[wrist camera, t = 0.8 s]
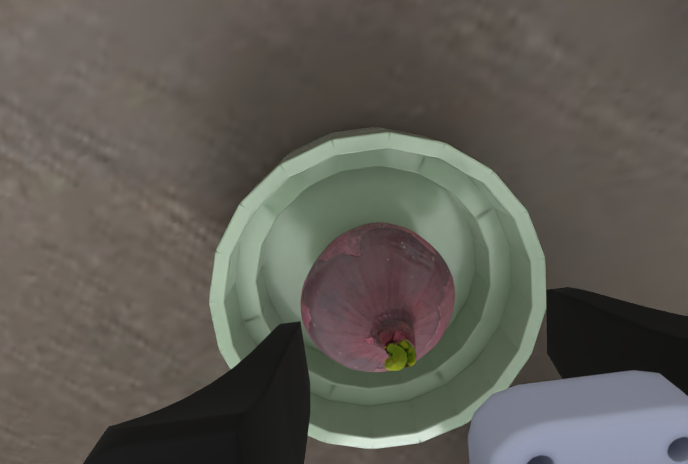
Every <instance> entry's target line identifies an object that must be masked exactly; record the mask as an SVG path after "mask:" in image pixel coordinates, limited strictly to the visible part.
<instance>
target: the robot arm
mask: <svg viewBox="0 0 688 464" xmlns="http://www.w3.org/2000/svg"><path fill="white" fill-rule="evenodd" d="M546 304H547V354H548V356H549V357H550V359H551V361H552V362H553V364H554V366H555V368H556V369H557V371H558V372H559V374H560V376H561V377H562V379H560V380H552V381H544V382H537V383H529V384H521V385H516V386H513V387H511V388H508V389H505V390H502V391H500V392H497V393H494V394H492V395H491V396H490V397H489V398H488V399H487V400H486V401H485V402H484V403H483V404H482V405H481V406H480V407H479V408H478V409H477V410H476V411H475V412H474V413H473V417H472V421H471V425H470V429H469V434H468V449H469V464H688V316H683V315H678V314H673V313H669V312H665V311H661V310H656V309H652V308H648V307H644V306H640V305H636V304H633V303H629V302H625V301H622V300H618V299H615V298H611V297H608V296H604V295H601V294H597V293H593V292H589V291H585V290H581V289H576V288H569V287H566V288H558V289H550V290H546ZM309 421H310V378H309V372H308V366H307V359H306V353H305V347H304V340H303V334H302V328H301V321H299V322H291V323H283V324H279V325H278V326H277V327H276V328H275V329H274V330H273V331H272V332H271V333H270V334H269V335H268V336H267V337H266V338H265V339H264V340H263V341H262V342H261V343H260V344H259V345H258V346H257V347H256V348H255V349H254V350H253V351H252V352H251V353H250V354H248V355H247V356H246V357H245V358H244V359H243V360H242V361H240V362H239V363H238V364H237V365H236V366H235V367H233V368H232V369H231V370H230V371H228V372H227V373H226V374H224V375H223V376H221V377H220V378H218V379H217V380H215V381H214V382H213V383H211V384H209V385H208V386H206V387H204V388H203V389H201V390H199V391H197V392H195V393H193V394H192V395H190V396H188V397H186V398H184V399H182V400H180V401H178V402H176V403H174V404H172V405H170V406H167V407H165V408H163V409H160V410H158V411H155V412H153V413H150V414H147V415H145V416H142V417H139V418H136V419H132V420H129V421H126V422H123V423H120V424H117V425H113V426H110V427H108V428H107V430H106V431H105V432H104V434H103V435H102V437H101V438H100V440H99V441H98V442H97V444H96V445H95V447H94V448H93V450H92V451H91V453H90V454H89V456H88V457H87V458H86V460H85V461H84V463H83V464H304V458H305V451H306V443H307V436H308V428H309Z"/></svg>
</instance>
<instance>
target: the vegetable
mask: <svg viewBox="0 0 688 464" xmlns="http://www.w3.org/2000/svg"><path fill="white" fill-rule="evenodd" d="M454 301H455V286H454V281H453V276H452V274H451V272H450V270H449V267H448V266H447V264H446V262H445V260H444V259H443V258H442V256H441V255H440V254H439V252H438V251H437V250H436V249H435V248H434V247H433V246H432V245H431V244H430V243H428V242H427V241H426V240H425V239H423V238H422V237H421V236H419V235H418V234H416V233H415V232H413V231H411V230H409V229H408V228H406V227H402V226H398V225H394V224H390V223H382V222H375V223H368V224H364V225H361V226H358V227H355V228H353V229H351V230H349V231H347V232H345V233H343V234H341V235H340V236H338V237H337V238H336V239H334V240H333V241H332V242H331V243H330V244H329V245H328V246H327V247H326V248H325V249H324V251H323V252H322V253H321V254H320V255H319V256H318V258H317V259H316V261H315V262H314V264H313V266H312V267H311V269H310V271H309V273H308V275H307V277H306V279H305V281H304V285H303V289H302V294H301V301H300V302H301V316H302V320H303V324H304V326H305V329H306V331H307V333H308V335H309V336H310V338H311V339H312V340H313V342H314V343H315V345H316V346H317V347H318V348H319V349H320V350H321V351H322V352H323V353H324V354H326V355H327V356H328V357H329V358H331V359H332V360H333V361H335V362H337V363H339V364H341V365H343V366H345V367H347V368H350V369H353V370H357V371H365V372H386V371H398V370H401V369H402V368H407V367H410V366H413V365H414V364H415V362H416V361H417V360H419V359H420V358H421V357H423V356H424V355H425V354H426V353H427V352H429V351H430V350H431V349H432V348H434V346H435V345H436V344H437V343H438V342H439V340H440V339H441V337H442V336H443V334H444V333H445V331H446V329H447V326H448V324H449V321H450V319H451V316H452V313H453V308H454Z"/></svg>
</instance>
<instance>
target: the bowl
mask: <svg viewBox="0 0 688 464" xmlns="http://www.w3.org/2000/svg"><path fill="white" fill-rule="evenodd" d="M375 222H382V223H390V224H394V225H398V226H402V227H406V228H408V229H409V230H411V231H413V232H415V233H416V234H418V235H419V236H421V237H422V238H423V239H425V240H426V241H427V242H428V243H430V244H431V245H432V246H433V247H434V248H435V249H436V250H437V251H438V252H439V254H440V255H441V256H442V258H443V259H444V260H445V262H446V264H447V266H448V267H449V270H450V272H451V274H452V276H453V281H454V286H455V301H454V308H453V313H452V316H451V319H450V321H449V324H448V326H447V329H446V331H445V333H444V334H443V336H442V337H441V339H440V340H439V342H438V343H437V344H436V345H435V346H434V348H432V349H431V350H430V351H429V352H427V353H426V354H425V355H424V356H423V357H421V358H420V359H419V360H417V361H416V362H415V364H414V365H413V366H410V367H407V368H402V369H401V370H398V371H386V372H365V371H357V370H353V369H350V368H347V367H345V366H343V365H341V364H339V363H337V362H335V361H333V360H332V359H331V358H329V357H328V356H327V355H326V354H324V353H323V352H322V351H321V350H320V349H319V348H318V347H317V346H316V345H315V343H314V342H313V340H312V339H311V338H310V336H309V335H308V333H307V331H306V329H305V326H304V324H303V320H302V316H301V302H300V301H301V294H302V289H303V285H304V281H305V279H306V277H307V275H308V273H309V271H310V269H311V267H312V266H313V264H314V262H315V261H316V259H317V258H318V256H319V255H320V254H321V253H322V252H323V251H324V249H325V248H326V247H327V246H328V245H329V244H330V243H331V242H332V241H333V240H334V239H336V238H337V237H338V236H340V235H341V234H343V233H345V232H347V231H349V230H351V229H353V228H355V227H358V226H361V225H364V224H368V223H375ZM209 306H210V311H211V315H212V320H213V325H214V329H215V334H216V339H217V344H218V348H219V350H220V353H221V354H222V356H223V358H224V359H225V361H226V363H227V364H228V366H229V368H230V369H232V368H233V367H235V366H236V365H237V364H238V363H239V362H240V361H242V360H243V359H244V358H245V357H246V356H247V355H248V354H250V353H251V352H252V351H253V350H254V349H255V348H256V347H257V346H258V345H259V344H260V343H261V342H262V341H263V340H264V339H265V338H266V337H267V336H268V335H269V334H270V333H271V332H272V331H273V330H274V329H275V328H276V327H277V326H278V325H279V324H283V323H291V322H299V321H301V328H302V334H303V340H304V347H305V353H306V359H307V366H308V372H309V378H310V421H309V428H308V436H310V437H313V438H315V439H317V440H319V441H322V442H325V443H330V444H337V445H344V446H351V447H358V448H365V449H379V448H387V447H394V446H402V445H409V444H417V443H420V442H424V441H426V440H429V439H431V438H434V437H436V436H438V435H441V434H443V433H446V432H448V431H450V430H453V429H455V428H457V427H460V426H462V425H464V424H466V423H468V422H469V421H470V420H471V419H472V417H473V413H474V412H475V411H476V410H477V409H478V408H479V407H480V406H481V405H482V404H483V403H484V402H485V401H486V400H487V399H488V398H489V397H490V396H491V395H492V394H494V393H497V392H500V391H502V390H505V389H507V388H508V387H509V386H510V384H511V383H512V381H513V380H514V378H515V377H516V376H517V374H518V373H519V371H520V370H521V369H522V367H523V366H524V364H525V363H526V361H527V360H528V359H529V357H530V356H531V353H532V351H533V348H534V345H535V342H536V339H537V335H538V332H539V329H540V326H541V323H542V320H543V317H544V313H545V310H546V265H545V255H544V253H543V250H542V247H541V245H540V242H539V239H538V237H537V234H536V232H535V229H534V226H533V224H532V221H531V218H530V216H529V213H528V211H527V210H526V208H525V207H524V206H523V205H522V203H521V202H520V201H519V200H518V199H517V197H516V196H515V195H514V194H513V193H512V192H511V190H510V189H509V188H508V187H507V186H506V185H505V183H504V182H503V181H502V180H501V179H500V178H499V176H498V175H497V174H496V173H495V172H494V171H493V170H492V169H490V168H489V167H487V166H485V165H484V164H482V163H480V162H478V161H477V160H475V159H473V158H471V157H470V156H468V155H466V154H464V153H463V152H461V151H459V150H458V149H456V148H454V147H452V146H451V145H449V144H447V143H444V142H441V141H438V140H435V139H432V138H428V137H425V136H422V135H418V134H412V133H407V132H402V131H397V130H392V129H387V128H382V127H369V128H362V129H354V130H346V131H339V132H332V133H329V134H327V135H325V136H322V137H320V138H318V139H316V140H314V141H312V142H310V143H308V144H306V145H304V146H302V147H300V148H298V149H296V150H293V151H291V152H290V153H288V154H287V155H286V156H285V157H284V158H283V159H282V160H281V161H280V162H279V163H278V164H277V165H276V166H275V167H274V168H273V169H272V170H271V171H270V172H269V173H268V174H267V175H265V176H264V177H263V178H262V179H261V180H260V181H259V182H258V183H257V184H256V185H255V187H254V188H253V189H252V190H251V191H250V192H249V193H248V194H247V195H246V197H245V198H244V199H243V200H242V201H241V203H240V204H239V205H238V207H237V209H236V211H235V213H234V215H233V217H232V219H231V221H230V223H229V225H228V227H227V229H226V231H225V233H224V235H223V237H222V238H221V240H220V242H219V244H218V246H217V248H216V252H215V256H214V264H213V272H212V279H211V287H210V295H209Z"/></svg>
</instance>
